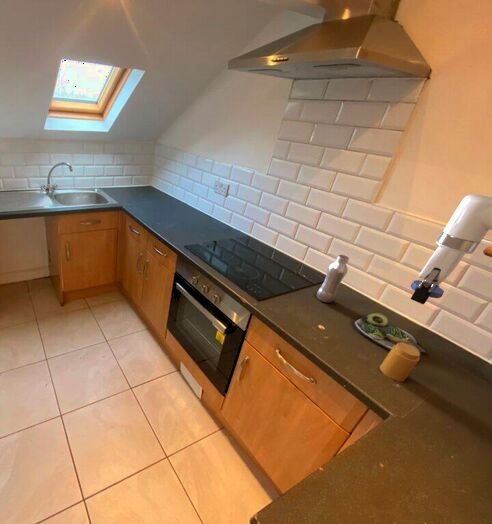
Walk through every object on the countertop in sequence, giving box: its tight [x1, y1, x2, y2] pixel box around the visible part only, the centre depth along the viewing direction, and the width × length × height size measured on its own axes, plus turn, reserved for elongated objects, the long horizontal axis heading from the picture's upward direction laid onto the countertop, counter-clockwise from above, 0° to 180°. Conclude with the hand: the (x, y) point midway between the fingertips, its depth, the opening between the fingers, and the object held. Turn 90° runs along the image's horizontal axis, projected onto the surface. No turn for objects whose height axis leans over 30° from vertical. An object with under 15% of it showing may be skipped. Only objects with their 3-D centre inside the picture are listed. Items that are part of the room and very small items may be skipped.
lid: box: [410, 279, 445, 299], centre depth 86 cm, size 7×7×2 cm
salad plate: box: [353, 312, 426, 353], centre depth 103 cm, size 19×18×5 cm
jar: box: [379, 343, 421, 382], centre depth 86 cm, size 6×6×10 cm
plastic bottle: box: [316, 254, 350, 304], centre depth 118 cm, size 6×7×20 cm
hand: (421, 297), depth 87 cm, fingers closed on lid, 6 cm apart
